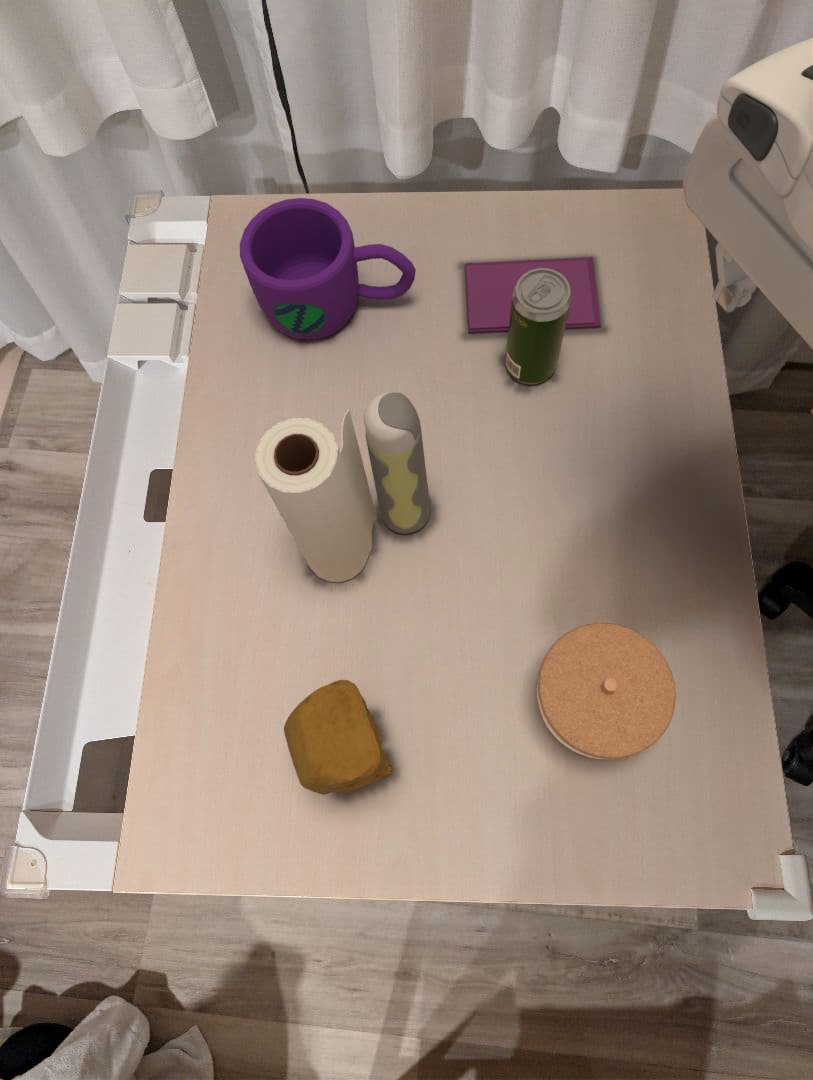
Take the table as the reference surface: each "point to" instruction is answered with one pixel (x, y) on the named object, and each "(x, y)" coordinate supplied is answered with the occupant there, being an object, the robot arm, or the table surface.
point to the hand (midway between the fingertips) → (776, 357)
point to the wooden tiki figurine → (335, 741)
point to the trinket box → (606, 691)
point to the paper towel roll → (320, 493)
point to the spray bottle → (397, 461)
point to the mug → (311, 267)
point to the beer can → (537, 325)
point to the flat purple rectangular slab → (498, 279)
